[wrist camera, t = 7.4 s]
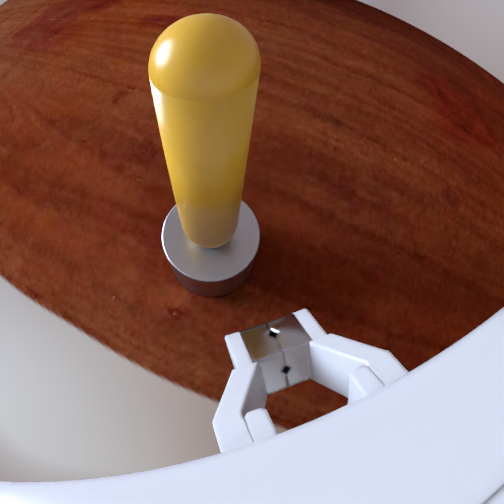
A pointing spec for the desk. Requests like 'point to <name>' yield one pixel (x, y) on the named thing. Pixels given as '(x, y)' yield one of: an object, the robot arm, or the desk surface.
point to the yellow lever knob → (207, 148)
